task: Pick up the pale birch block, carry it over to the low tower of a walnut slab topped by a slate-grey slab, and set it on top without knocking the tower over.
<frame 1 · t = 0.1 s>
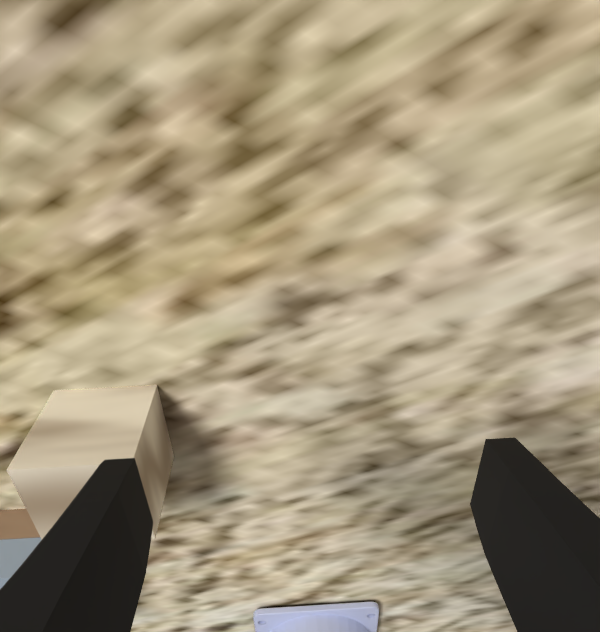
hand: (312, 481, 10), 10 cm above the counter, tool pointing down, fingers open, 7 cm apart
slate slab: (13, 580, 26), point 2 cm above the counter
birch block: (117, 423, 23), on the counter
walnut slab: (30, 544, 27), on the counter
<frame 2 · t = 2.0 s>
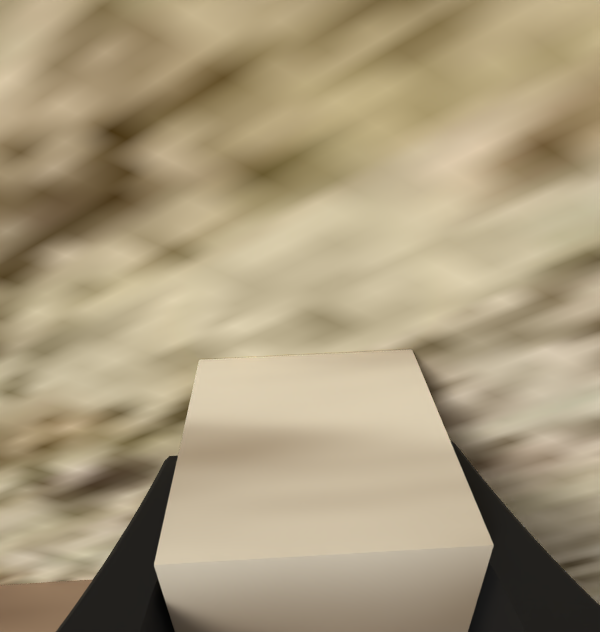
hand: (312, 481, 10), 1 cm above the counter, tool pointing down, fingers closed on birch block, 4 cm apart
birch block: (308, 432, 11), on the counter, touching gripper
walnut slab: (106, 622, 16), on the counter
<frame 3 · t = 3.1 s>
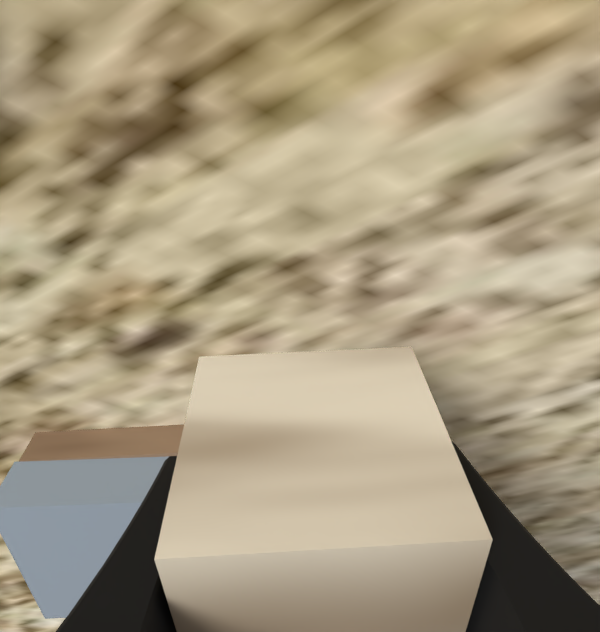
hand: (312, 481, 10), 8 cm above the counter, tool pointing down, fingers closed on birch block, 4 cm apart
slate slab: (128, 518, 20), point 1 cm above the counter, touching walnut slab
birch block: (307, 429, 11), point 6 cm above the counter, touching gripper
walnut slab: (144, 476, 22), on the counter, touching slate slab
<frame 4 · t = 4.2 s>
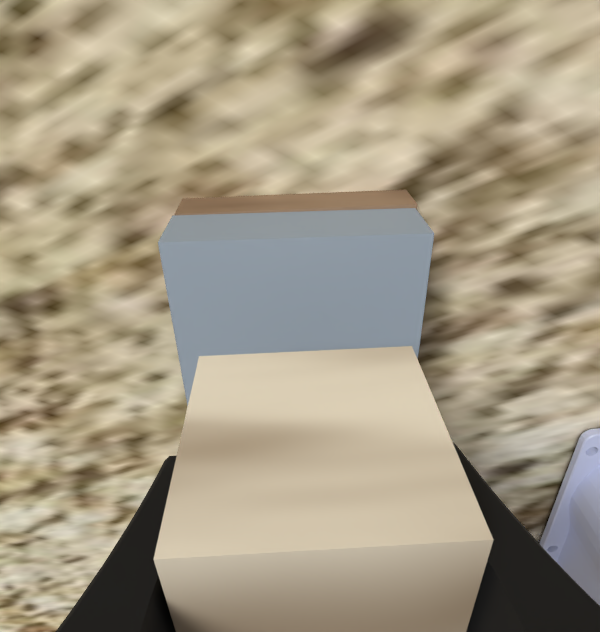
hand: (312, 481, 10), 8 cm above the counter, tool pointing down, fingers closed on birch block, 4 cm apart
slate slab: (297, 315, 16), point 1 cm above the counter, touching walnut slab
birch block: (307, 429, 11), point 7 cm above the counter, touching gripper
walnut slab: (297, 284, 18), on the counter, touching slate slab
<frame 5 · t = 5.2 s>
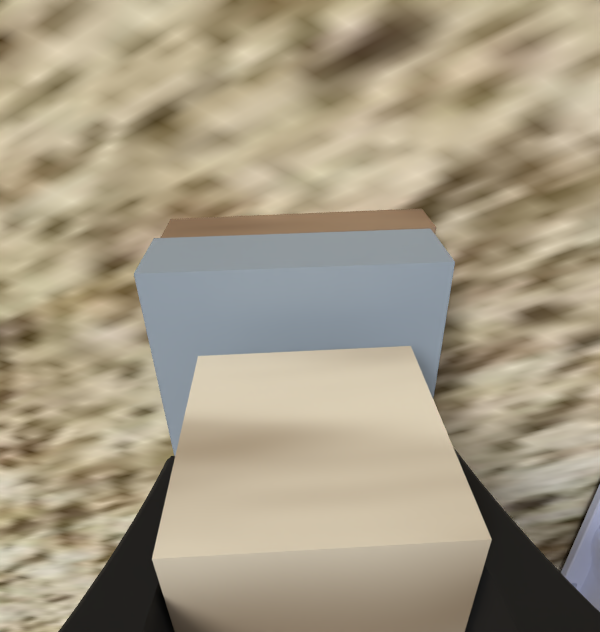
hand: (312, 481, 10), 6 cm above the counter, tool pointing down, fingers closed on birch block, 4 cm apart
slate slab: (296, 346, 14), point 1 cm above the counter
birch block: (306, 428, 11), point 5 cm above the counter, touching gripper
walnut slab: (299, 311, 16), on the counter
when the fingers open (6 cm above the counter, at t = 5.4 s): birch block drops 1 cm, resting on slate slab.
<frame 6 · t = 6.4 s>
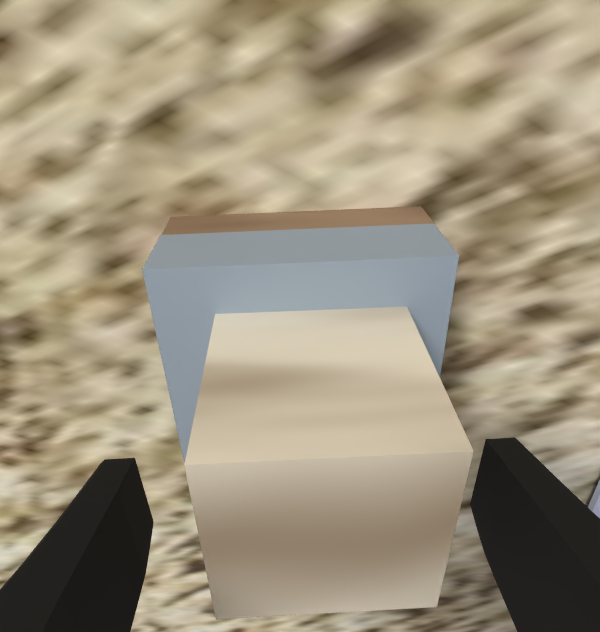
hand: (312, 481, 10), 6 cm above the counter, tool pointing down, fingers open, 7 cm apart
slate slab: (301, 341, 14), point 1 cm above the counter, touching birch block, walnut slab
birch block: (312, 385, 13), point 3 cm above the counter, touching slate slab
walnut slab: (299, 307, 16), on the counter, touching slate slab
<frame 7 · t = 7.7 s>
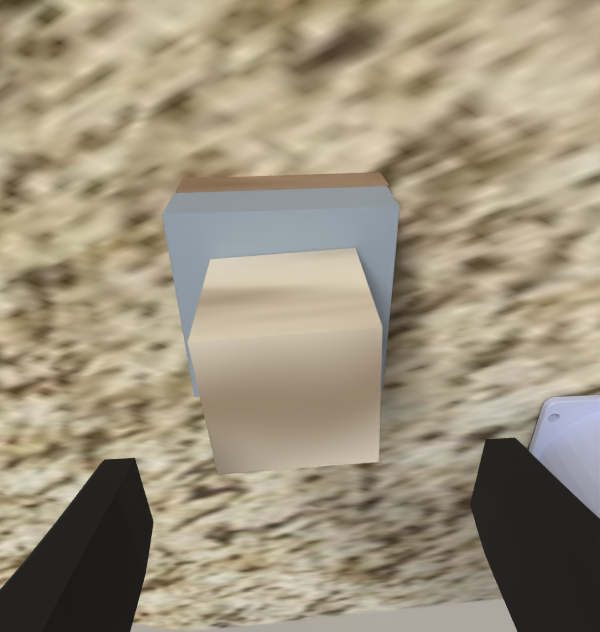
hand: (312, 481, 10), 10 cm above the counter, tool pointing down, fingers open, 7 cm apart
slate slab: (284, 283, 18), point 1 cm above the counter, touching walnut slab
birch block: (288, 315, 16), point 3 cm above the counter
walnut slab: (285, 259, 20), on the counter, touching slate slab
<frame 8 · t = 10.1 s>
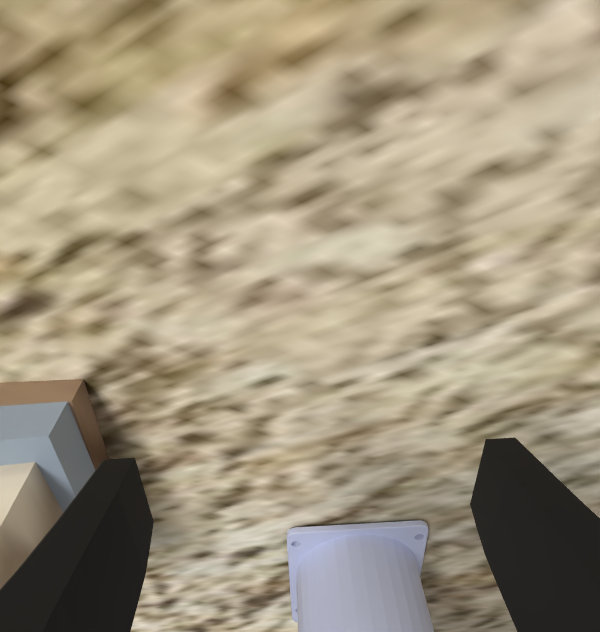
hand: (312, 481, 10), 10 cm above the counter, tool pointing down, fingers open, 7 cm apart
slate slab: (14, 465, 22), point 1 cm above the counter, touching birch block, walnut slab
birch block: (3, 504, 20), point 3 cm above the counter, touching slate slab
walnut slab: (33, 431, 24), on the counter, touching slate slab
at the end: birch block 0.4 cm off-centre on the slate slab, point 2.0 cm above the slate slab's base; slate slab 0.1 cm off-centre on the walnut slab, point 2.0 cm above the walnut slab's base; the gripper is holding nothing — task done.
